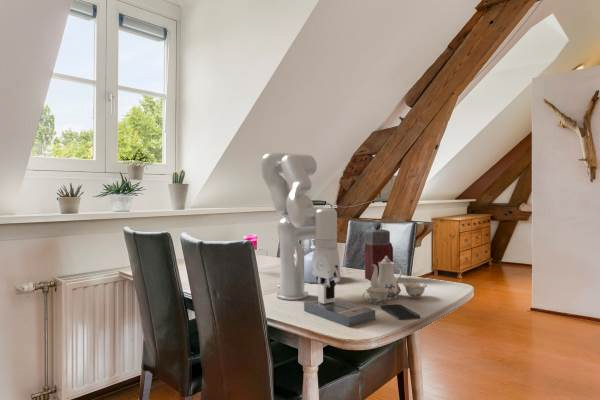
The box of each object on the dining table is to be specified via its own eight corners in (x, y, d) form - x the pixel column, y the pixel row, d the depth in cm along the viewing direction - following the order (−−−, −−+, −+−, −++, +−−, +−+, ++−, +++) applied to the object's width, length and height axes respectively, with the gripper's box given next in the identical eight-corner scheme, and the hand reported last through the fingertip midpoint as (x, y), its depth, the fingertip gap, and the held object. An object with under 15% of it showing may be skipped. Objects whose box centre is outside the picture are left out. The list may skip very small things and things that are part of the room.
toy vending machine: (394, 280, 192) (394, 220, 191) (372, 282, 189) (372, 221, 189) (386, 276, 200) (386, 219, 200) (364, 278, 198) (364, 219, 197)
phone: (399, 304, 148) (421, 316, 134) (399, 307, 149) (421, 319, 134) (379, 305, 147) (399, 318, 132) (379, 308, 147) (399, 321, 132)
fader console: (304, 311, 143) (304, 302, 143) (330, 305, 150) (329, 296, 150) (348, 327, 126) (348, 317, 126) (375, 319, 133) (375, 310, 133)
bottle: (341, 276, 204) (341, 237, 203) (338, 284, 184) (338, 242, 184) (302, 274, 207) (301, 237, 207) (294, 283, 188) (294, 241, 187)
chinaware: (377, 313, 146) (380, 267, 144) (348, 298, 160) (350, 256, 158) (432, 302, 160) (435, 260, 158) (401, 289, 174) (404, 250, 173)
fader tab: (318, 301, 142) (318, 284, 142) (329, 299, 146) (329, 282, 145) (323, 303, 140) (323, 286, 140) (334, 301, 143) (334, 284, 143)
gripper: (303, 242, 147) (303, 294, 147) (334, 247, 134) (334, 304, 134) (319, 241, 151) (319, 291, 152) (350, 245, 138) (351, 300, 139)
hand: (326, 296), depth 143 cm, fingers closed on fader tab, 3 cm apart
